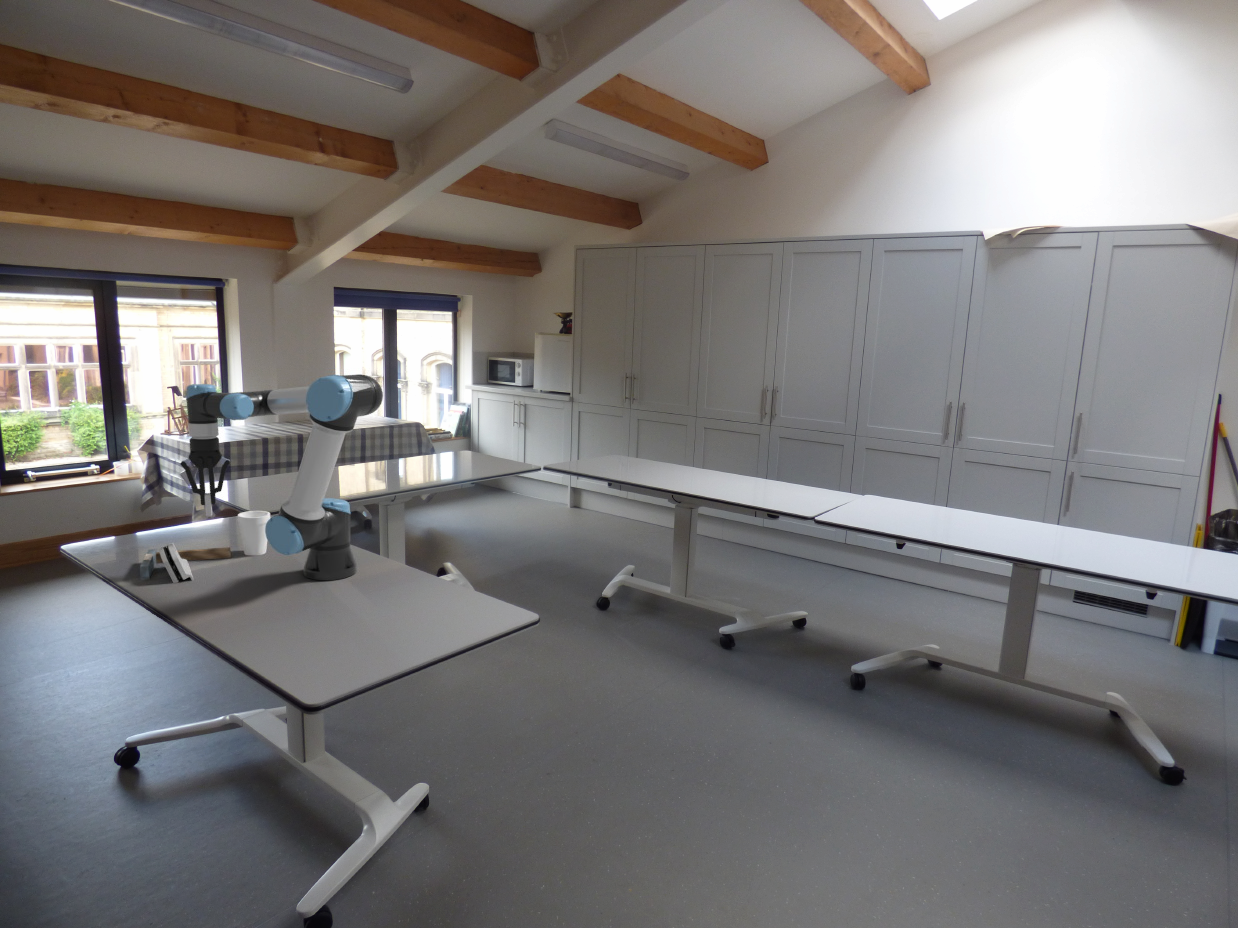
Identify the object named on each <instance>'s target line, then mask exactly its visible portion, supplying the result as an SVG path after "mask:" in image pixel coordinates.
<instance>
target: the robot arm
mask: <svg viewBox="0 0 1238 928" xmlns="http://www.w3.org/2000/svg"><path fill="white" fill-rule="evenodd" d="M185 396H186V398H185V400H186V407H187V408H186V409H187V410H186V411H187V420H188V421H187V422H188V423H187V424H188V426H187V428H188V436H189V437H190V438H189V440H188V441H189V455H188V457H187V458H185V460H182V461H180V466H181V467H182V468H183V469H184V471H185V473H186V476H187V479H188V482H189V485H190V487H191V488H190V489H191V490H192V493H194V494H198V495H199V497H200V505H201V506H204V508H205V517H212V516H213V505H216V502H217V499H216V494H218V493H219V492H220V493H221V492H222V489H223V487H224V486H223V485H224V480H225V475H226V472H227V468H228V467H229V465H230V463H231V460H230V458H225V457H224V456H223V454H222V453H221V451H220V439H219V437H218V436H219V421H218V419H223V420H230V421H244V420H247V419H248V418H254V417H263V416H265V417H266V416H276V415H285V414H287V415H288V414H289V415H290V414H300V413H301V414H303V413H309V420H310V421H311V423H312V427H311V431H310V433H309V436H308V440H307V443H306V446H305V449H304V452H303V455H302V458H301V462H300V465H299V469H298V471H297V475H296V477H295V481H294V484H293V487H292V490H291V493H290V497H289V498H287V499H284V500H283V501H282V503H281V505H280V509H279V512H278V514H277V515H274V516H273V515H272V517H270V519H269V520H268V521H267V523H266V527H265V533H266V538H267V542H268V544H269V545H270V547H271V548H272V549H273V550H275V552H277V553H278V554H280V555H283V556H291V555H294V554H296V555H297V554H299V553H301V552H304V551H306V550H307V551H308V553H307V555H306V559H305V561H304V564H303V576H304V577H305V578H308V579H310V580H313V581H314V580H315V581H334V580H342V579H345V578H349V577H351V576H354V575H355V574H356V573H357V570H358V569H357V568H358V567H357V561H356V558H355V556H354V553H353V551H352V548H351V514H352V512H351V508H350V506H351V505H350V503H349V502H348V501H347V500H345V499H341V498H331V497H326V493H327V491H328V489H329V485H330V482H331V479H332V477H333V474H334V469H335V466H336V464H337V462H338V457H339V455H340V452H341V449H342V445H343V443H344V440H345V437H346V434H348V433H350V432H353V430H354V428H355V426H356V422H357V420H358V418H359V417H364V416H368V415H372V414H374V413H375V412H376V411H377V410H378V409H379V408H380V407H381V405H382V402H383V398H384V393H383V389H382V387H381V385H380V382H378V381H377V380H376V379H375V378H374V377H372V376H369V375H366V374H360V373H359V374H347V375H346V374H344V375H339V374H331V375H328V376H322V377H319V378H317V379H316V380H314V381H313V382H312V383H311V384H310V385H309V386H300V387H291V388H289V387H288V388H279V389H267V390H266V389H264V390H256V391H254V390H253V391H240V392H239V391H238V392H219V391H218V392H217V388H216V386H215V385H214V384H210V383H208V384H207V383H206V384H205V383H200V384H199V383H197V384H196V383H194V384H188V385H187V386H186V395H185ZM219 462H220V465H221V470H220V473H219V477H218V478H219V479H218V481H217V482H218V483H217V487H216V484H215V482H216V481H215V469H214V468H216V466H217V465H218V463H219ZM191 464H193V465H194V466H195V467H196V468H197V470H198V481H199V484H198V485H199V488H198V485H197V483H196V480H195V477H194V474H193V470H192V468H191ZM205 469H207V470H208V471H207V472H208V479H209V492H206V480H205V479H206V478H205Z"/></svg>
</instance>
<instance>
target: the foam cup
mask: <svg viewBox="0 0 1238 928" xmlns="http://www.w3.org/2000/svg"><path fill="white" fill-rule="evenodd" d="M270 518H271V513H270V512H269V511H265V510H251V511H250V510H249V511H244V512H239V513H238V514H237V523H238V525H239V526H238V527H239V533H240V537H241V542H242V549H243V553H244V555H245V556H254V557H255V556H261V555H264V554H266V553H267V547H268V540H267V538H266V533H265V527H266V523H267V521H268V520H269V519H270Z"/></svg>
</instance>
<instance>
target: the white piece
mask: <svg viewBox="0 0 1238 928" xmlns="http://www.w3.org/2000/svg"><path fill="white" fill-rule="evenodd" d="M178 551H179V550H177V547H176V546H175V544H174V542H172V543H168V544H167V545H166V546H165V545H163V546H161V547H159V549H158V552H160V555H161V558H162V561H163V563H162V564H163V565H164V567H165V569H166V572H167V573H168V575H169V576H170V578H171V580H172V582H173V584H177V583H179V581H180V579H181V580H186V579H188V578H190V580H191V581H195V579H194V576H193V574H192V571H191V567H190V564H189V561H187V560H186V559H181V557H180V555H179V553H178Z"/></svg>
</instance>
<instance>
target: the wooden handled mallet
mask: <svg viewBox="0 0 1238 928" xmlns="http://www.w3.org/2000/svg"><path fill="white" fill-rule="evenodd" d="M177 551H178V553H179V555H180V557H181V559H186V560H187V562H189V561H190V562H191V561H202V560H215V559H227V558H229V559H230V558H231V555H232V554H231V553H232V552H231V547H216V548H215V547H213V548H200V549H198V548H197V549H185V550H177ZM157 564H164V563H163V561H162V558H161V555H160V552H159V551H157V548H155V549H154V548H151V549H148V550H147V551H146V554H145V556H144V558H143V560H142V562H141V564H140V566H139V570H140V571H139V572H140V573H139V574H140V575H139V576H140V581H143V580H144V581H145V580H150V578H151V576H152V574H153V572H154V570H155V567H156V565H157Z"/></svg>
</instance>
